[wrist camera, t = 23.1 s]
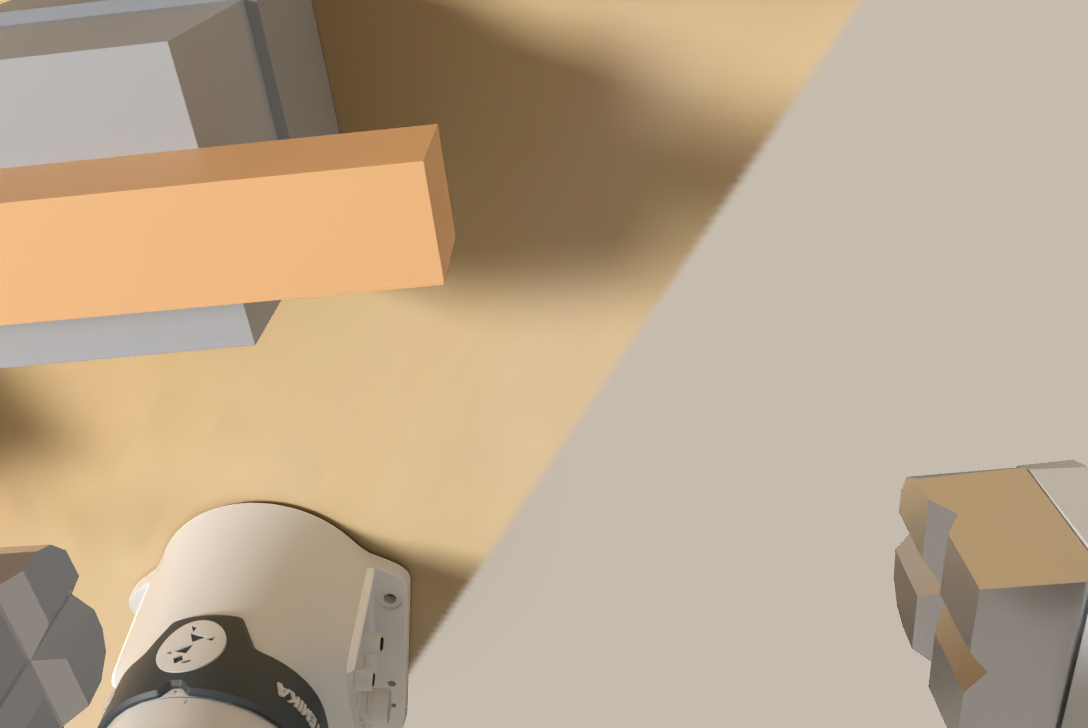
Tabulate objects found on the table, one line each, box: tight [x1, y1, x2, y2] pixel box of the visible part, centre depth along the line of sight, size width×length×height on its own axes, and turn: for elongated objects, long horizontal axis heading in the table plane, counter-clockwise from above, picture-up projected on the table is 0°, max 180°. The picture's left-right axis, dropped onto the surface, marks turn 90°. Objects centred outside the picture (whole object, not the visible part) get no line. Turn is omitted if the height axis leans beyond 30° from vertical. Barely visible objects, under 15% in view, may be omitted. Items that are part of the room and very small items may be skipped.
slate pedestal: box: [0, 0, 340, 368], centre depth 41 cm, size 12×12×17 cm
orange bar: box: [0, 124, 456, 326], centre depth 31 cm, size 4×24×4 cm, turn 96°
